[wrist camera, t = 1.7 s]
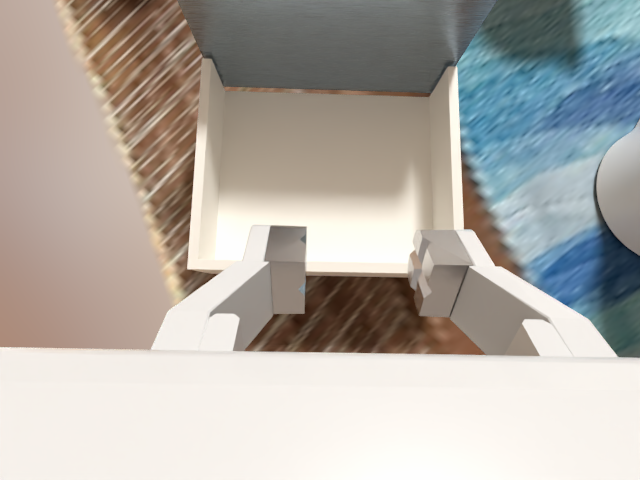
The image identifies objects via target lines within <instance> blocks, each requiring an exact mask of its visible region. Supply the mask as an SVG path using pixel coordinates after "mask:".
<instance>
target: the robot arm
mask: <svg viewBox="0 0 640 480" xmlns="http://www.w3.org/2000/svg"><path fill="white" fill-rule="evenodd" d="M596 188H597V198H598V203H599V206H600V210H601V212H602V215H603V217H604V219H605V221H606V223H607V225H608V226H609V228H610V229H611V231H612V232H613V233H614V235H615V236H616V237H617V238H618V239H619V240H620V241H621V242H622V243H623V244H624V245H625V246H626V247H628V248H629V249H630V250H632V251H633V252H635V253H636V254H638V255H639V256H640V120H639V121H638V123H637V125H636V127H635V128H634V129H633V130H632V131H631V132H630V133H629V134H627V135H626V136H624V137H622V138H621V139H619V140H618V141H617V142H616V143H615V144H614V145H613V146H612V147H611V148H610V149H609V150H608V151H607V153H606V154H605V156H604V158H603V160H602V162H601V164H600V167H599V171H598V175H597V187H596ZM413 245H414V248H415V250H414V251H413V252H412V253H411V254H410V255H409V260H408V272H407V273H408V280H409V284H410V287H412V288H413V289H414V290H415V294H414V301H415V304H416V308H417V311H418V314H419V316H433V317H450V319H451V320H452V321H453V322H454V323H455V324H456V325H457V326H458V327H459V328H460V329H461V330H462V331H463V332H464V333H465V334H466V335H467V336H468V337H469V338H470V339H471V340H472V341H473V342H474V343H475V344H476V345H477V346H478V347H479V348H480V349H481V350H482V351H483V352H484V353H485V354H486V355H449V354H385V353H320V352H258V351H244V350H245V349H246V348H247V346H248V345H249V344H250V343H251V342H252V340H253V339H254V338H255V337H256V336H257V334H258V333H259V332H260V331H261V330H262V328H263V327H264V326H265V325H266V324H267V322H268V321H269V320H270V319H271V318H272V316H273V314H304V313H305V287H306V257H307V252H306V249H307V227H304V226H282V225H252V227H251V229H250V233H249V236H248V240H247V244H246V248H245V251H244V255H243V259H242V261H236V262H234V263H233V264H232V265H230V266H229V267H228V268H226V269H225V270H224V271H222V272H221V273H219V274H218V275H217V276H215V277H214V278H213V279H211V280H210V281H208V282H207V283H206V284H204V285H203V286H202V287H200V288H199V289H197V290H196V291H195V292H193V293H192V294H191V295H189V296H188V297H186V298H185V299H184V300H182V301H181V302H180V303H178V304H177V305H176V306H174V307H173V308H171V309H170V310H169V311H168V312H167V314H166V317H165V319H164V321H163V323H162V325H161V328H160V330H159V332H158V334H157V337H156V339H155V341H154V343H153V346H152V348H151V350H135V349H132V350H131V349H76V348H75V349H73V348H72V349H71V348H17V347H16V348H15V347H0V480H640V358H631V357H618V356H617V355H616V354H615V352H614V351H613V350H612V349H611V347H610V346H609V345H608V343H607V342H606V341H605V340H604V338H603V337H602V336H601V334H600V333H599V332H598V331H597V329H596V328H595V327H594V325H593V324H592V323H591V322H590V320H589V319H587V318H586V317H584V316H582V315H581V314H579V313H577V312H576V311H574V310H572V309H571V308H569V307H567V306H566V305H564V304H562V303H561V302H559V301H557V300H556V299H554V298H552V297H551V296H549V295H547V294H546V293H544V292H542V291H541V290H539V289H537V288H536V287H534V286H532V285H531V284H529V283H527V282H526V281H524V280H522V279H521V278H519V277H517V276H516V275H514V274H512V273H511V272H509V271H507V270H506V269H504V268H502V267H495V265H494V263H493V262H492V260H491V259H490V257H489V255H488V254H487V252H486V250H485V249H484V247H483V245H482V244H481V242H480V241H479V239H478V237H477V236H476V234H475V232H474V231H472V230H416V232H415V234H414V238H413Z"/></svg>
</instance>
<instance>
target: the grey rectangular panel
mask: <svg viewBox="0 0 640 480" xmlns="http://www.w3.org/2000/svg"><path fill="white" fill-rule="evenodd" d="M177 1H178V3H179V5H180V7H181V9H182V12H183V14H184V16H185V18H186V20H187V22H188V25H189V27H190V29H191V31H192V33H193V36H194V38H195V40H196V42H197V44H198V47H199V49H200V51H201V53H202V55H203V58H205V59H212V61H213V63H214V66H215V68H216V70H217V73H218V75H219V77H220V80H221V82H222V85H223V86H224V87H256V88H289V89H321V90H354V91H386V92H419V93H432V92H433V90H434V89H435V87H436V85H437V84H438V82H439V80H440V79H441V77H442V75H443V74H444V72H445V70H446V69H447V67H448V66H451V67H455V66H456V64H457V63H458V61H459V59H460V58H461V56H462V55H463V53H464V52H465V50H466V49H467V47H468V45H469V44H470V42H471V41H472V39H473V38H474V36H475V34H476V33H477V31H478V30H479V28H480V27H481V25H482V23H483V22H484V20H485V19H486V17H487V16H488V14H489V12H490V11H491V9H492V8H493V6H494V5H495V3H496V2H497V0H177Z"/></svg>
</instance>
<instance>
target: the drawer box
mask: <svg viewBox="0 0 640 480" xmlns="http://www.w3.org/2000/svg"><path fill="white" fill-rule="evenodd" d="M252 225H282V226H304V227H307V249H306V252H307V257H306V276H355V277H408V273H407V272H408V260H409V255H410V254H411V253H412V252H413V251H414V250H415V248H414V245H413V238H414V234H415V232H416V230H464V223H463V199H462V175H461V150H460V126H459V102H458V77H457V67H451V66H448V67H447V69H446V70H445V72H444V74H443V75H442V77H441V79H440V80H439V82H438V84H437V85H436V87H435V89H434V90H433V92H432V93H431V95H430V97H405V96H372V95H339V94H306V93H273V92H240V91H225V89H224V87H223V85H222V82H221V80H220V77H219V75H218V73H217V70H216V68H215V66H214V63H213V61H212V59H205V58H202V68H201V82H200V96H199V110H198V124H197V138H196V152H195V166H194V180H193V195H192V209H191V223H190V237H189V251H188V265H187V269H189V270H194V271H200V272H205V273H210V274H219V273H221V272H222V271H224V270H225V269H226V268H228V267H229V266H230V265H232V264H233V263H234V262H236V261H242V259H243V255H244V251H245V248H246V244H247V240H248V236H249V233H250V229H251V227H252Z"/></svg>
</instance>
